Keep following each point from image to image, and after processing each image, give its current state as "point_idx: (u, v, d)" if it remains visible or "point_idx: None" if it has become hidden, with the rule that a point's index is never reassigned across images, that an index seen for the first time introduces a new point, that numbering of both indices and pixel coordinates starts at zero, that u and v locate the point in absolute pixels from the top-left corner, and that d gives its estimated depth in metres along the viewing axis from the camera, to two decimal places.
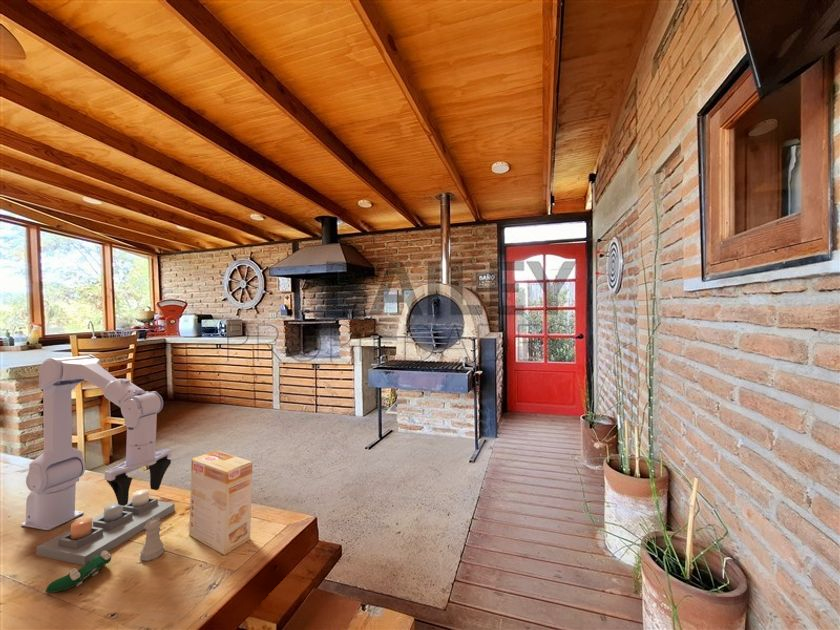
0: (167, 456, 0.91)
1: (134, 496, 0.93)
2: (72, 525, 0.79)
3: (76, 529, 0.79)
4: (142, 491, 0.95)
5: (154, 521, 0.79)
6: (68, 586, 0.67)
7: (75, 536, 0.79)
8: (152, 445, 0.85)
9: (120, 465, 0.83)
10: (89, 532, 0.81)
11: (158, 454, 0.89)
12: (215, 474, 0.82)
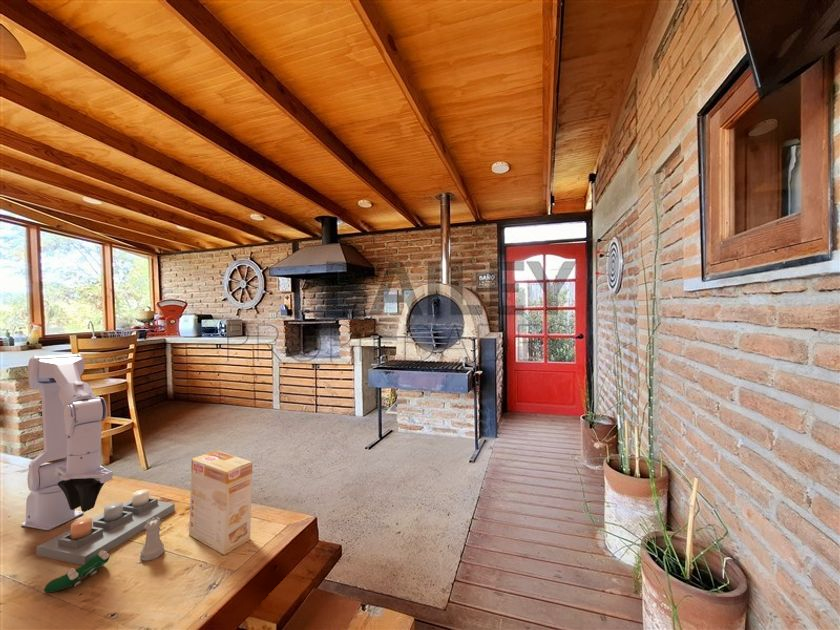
0: (100, 480, 0.79)
1: (134, 496, 0.93)
2: (72, 525, 0.79)
3: (76, 529, 0.79)
4: (142, 491, 0.95)
5: (154, 521, 0.79)
6: (66, 586, 0.67)
7: (75, 536, 0.79)
8: (72, 459, 0.78)
9: None
10: (89, 532, 0.81)
11: (96, 473, 0.80)
12: (215, 474, 0.82)
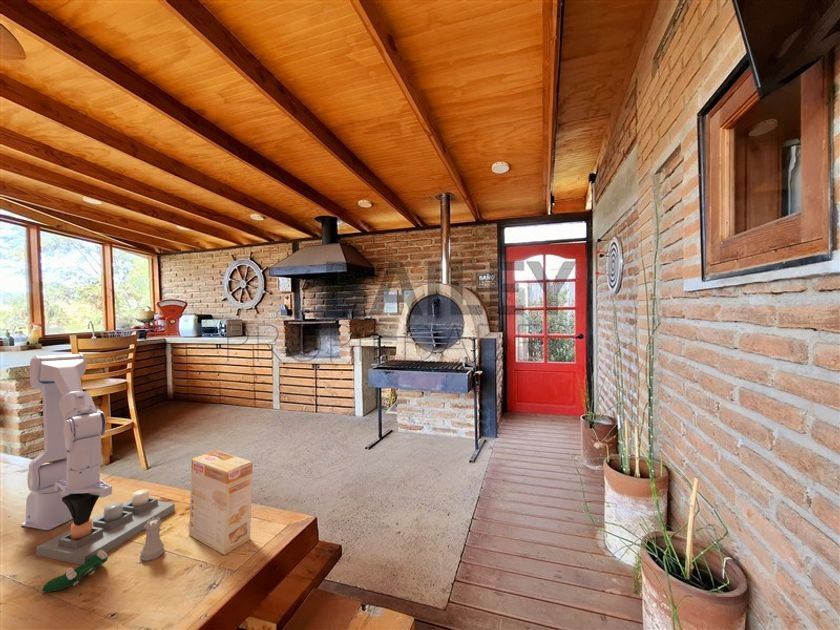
0: (100, 495, 0.79)
1: (134, 496, 0.93)
2: (72, 526, 0.79)
3: (76, 530, 0.79)
4: (142, 491, 0.95)
5: (154, 521, 0.79)
6: (64, 585, 0.68)
7: (75, 537, 0.79)
8: (72, 474, 0.78)
9: None
10: (89, 533, 0.81)
11: (95, 487, 0.79)
12: (215, 474, 0.82)
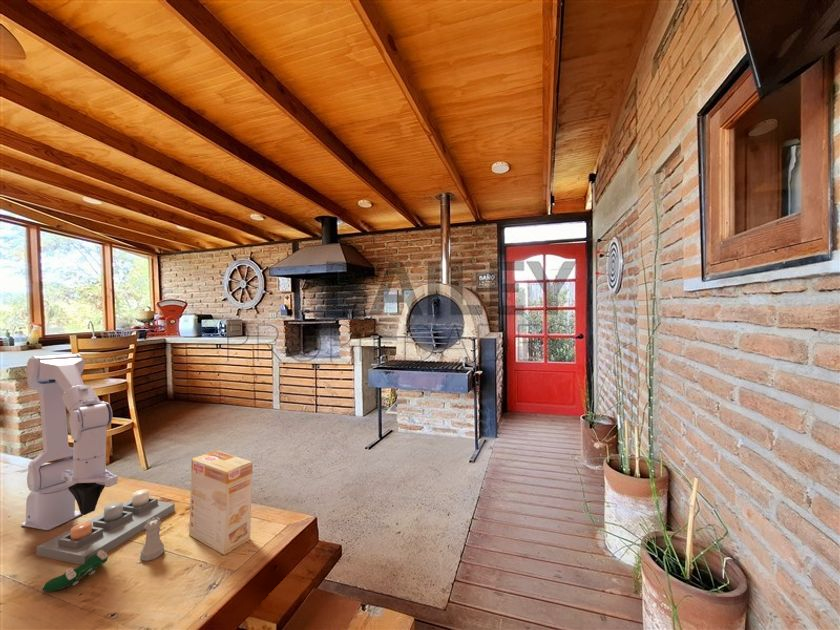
0: (105, 484, 0.80)
1: (134, 496, 0.93)
2: (72, 529, 0.79)
3: (76, 534, 0.79)
4: (142, 491, 0.95)
5: (154, 521, 0.79)
6: (64, 585, 0.68)
7: None
8: (78, 463, 0.79)
9: None
10: None
11: None
12: (215, 474, 0.82)
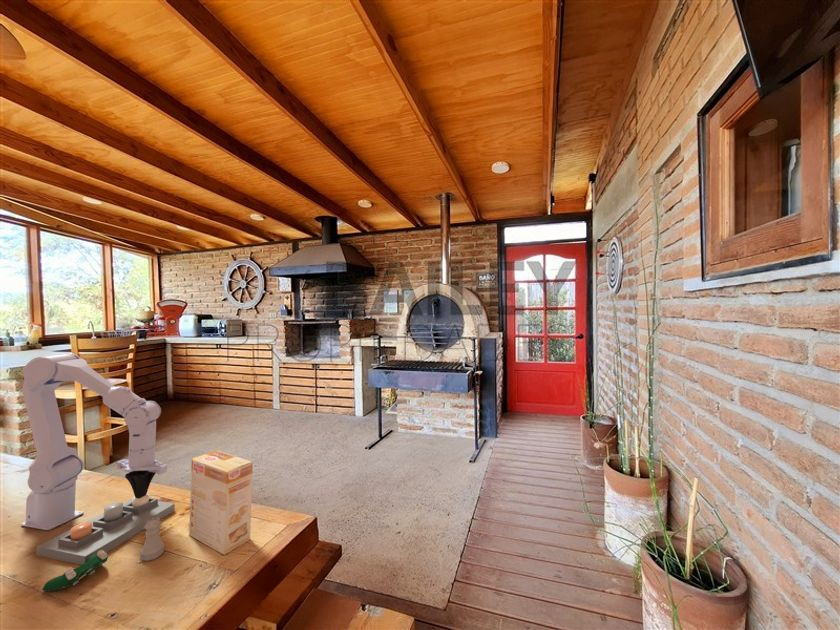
0: None
1: (134, 500, 0.93)
2: (72, 529, 0.79)
3: (76, 534, 0.79)
4: None
5: (154, 521, 0.79)
6: (64, 585, 0.68)
7: None
8: (134, 454, 0.92)
9: None
10: None
11: (153, 466, 0.93)
12: (215, 474, 0.82)
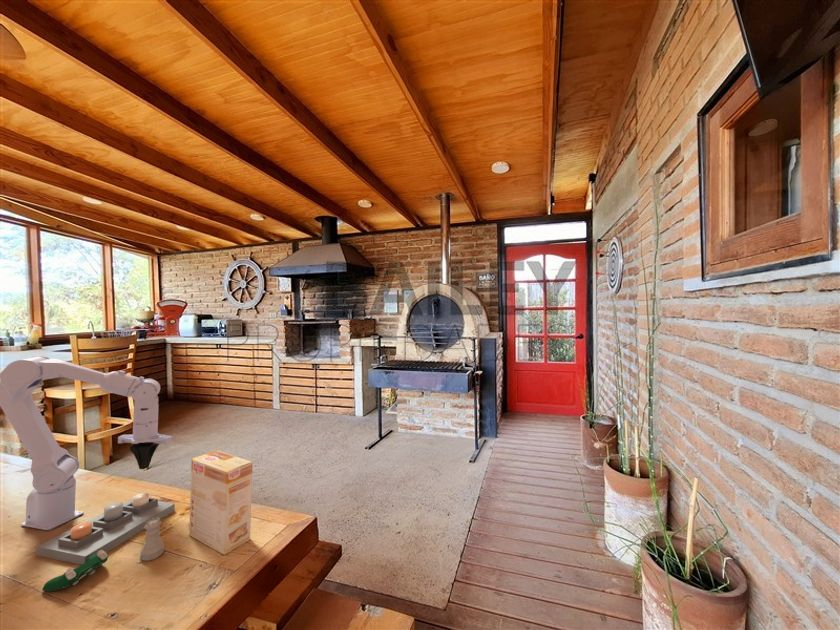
0: (163, 443, 0.99)
1: (134, 500, 0.93)
2: (72, 529, 0.79)
3: (76, 534, 0.79)
4: (142, 495, 0.95)
5: (154, 521, 0.79)
6: (64, 585, 0.68)
7: None
8: (140, 427, 0.97)
9: None
10: None
11: (158, 438, 1.00)
12: (215, 474, 0.82)
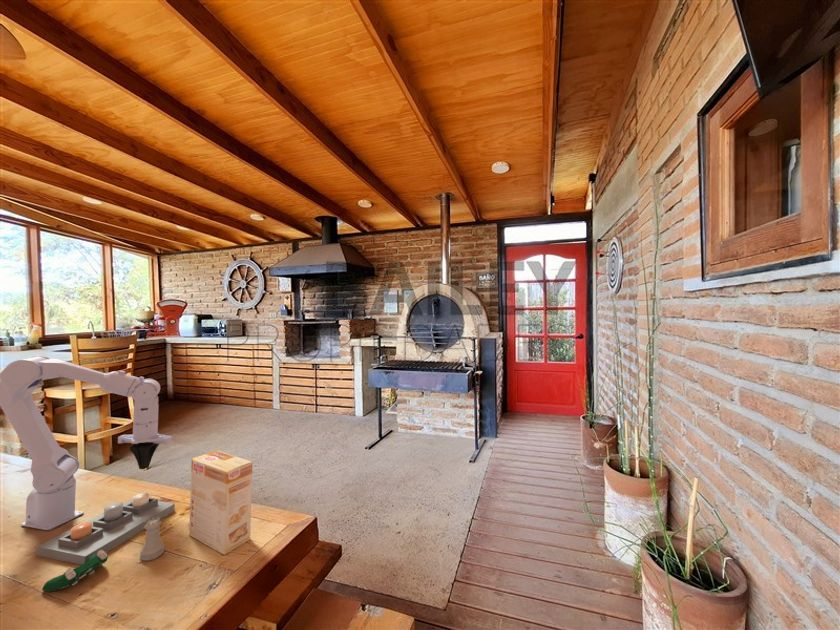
0: (164, 443, 0.99)
1: (134, 500, 0.93)
2: (72, 529, 0.79)
3: (76, 534, 0.79)
4: (142, 495, 0.95)
5: (154, 521, 0.79)
6: (63, 585, 0.68)
7: None
8: (140, 427, 0.97)
9: None
10: None
11: (158, 438, 1.00)
12: (215, 474, 0.82)
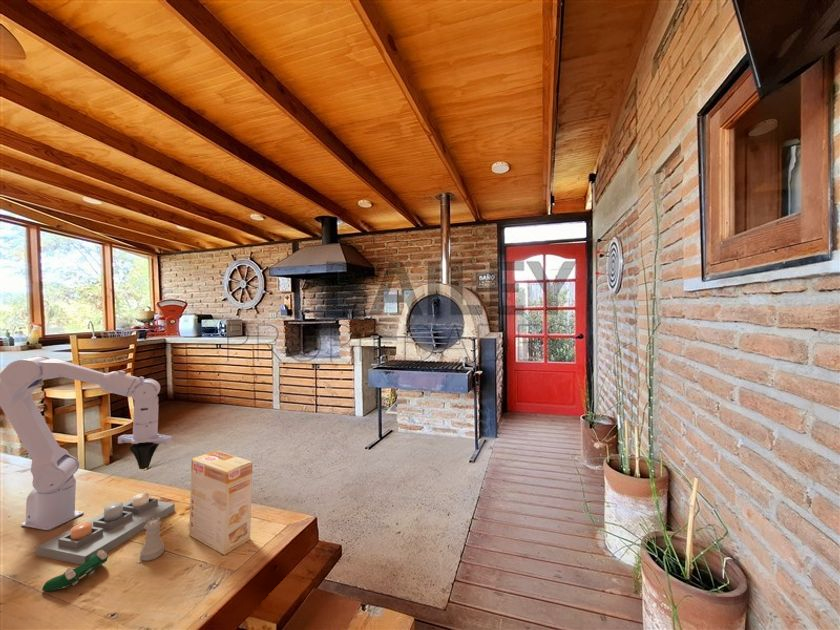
0: (164, 443, 0.99)
1: (134, 500, 0.93)
2: (72, 529, 0.79)
3: (76, 534, 0.79)
4: (142, 495, 0.95)
5: (154, 521, 0.79)
6: (63, 585, 0.68)
7: None
8: (140, 427, 0.97)
9: None
10: None
11: (158, 438, 1.00)
12: (215, 474, 0.82)
